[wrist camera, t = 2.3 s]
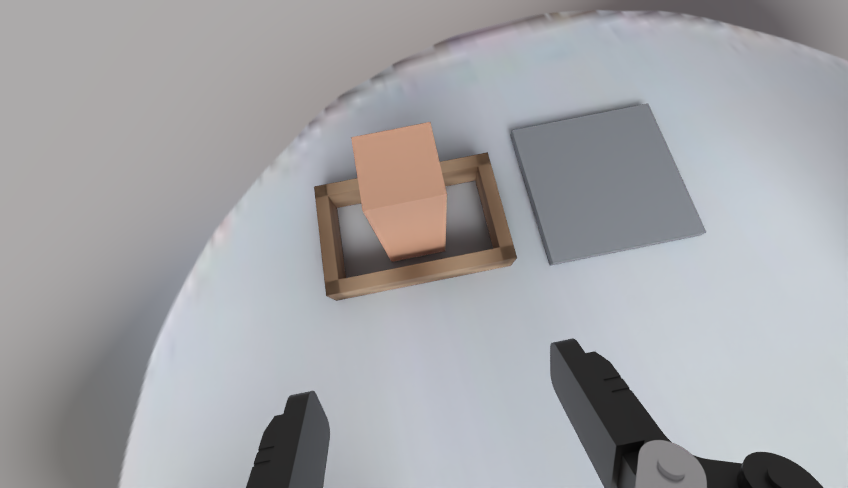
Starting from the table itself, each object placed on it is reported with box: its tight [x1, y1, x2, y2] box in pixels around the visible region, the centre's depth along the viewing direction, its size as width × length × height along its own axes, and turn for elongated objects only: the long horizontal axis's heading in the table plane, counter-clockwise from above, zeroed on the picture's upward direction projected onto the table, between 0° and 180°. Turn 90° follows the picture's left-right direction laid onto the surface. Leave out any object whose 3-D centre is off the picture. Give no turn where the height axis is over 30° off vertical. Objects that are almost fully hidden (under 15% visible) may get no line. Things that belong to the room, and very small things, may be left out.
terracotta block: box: [351, 122, 447, 262], centre depth 24 cm, size 4×4×11 cm
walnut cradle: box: [314, 152, 517, 301], centre depth 28 cm, size 14×9×2 cm, turn 101°
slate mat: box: [510, 104, 706, 265], centre depth 29 cm, size 12×12×1 cm
